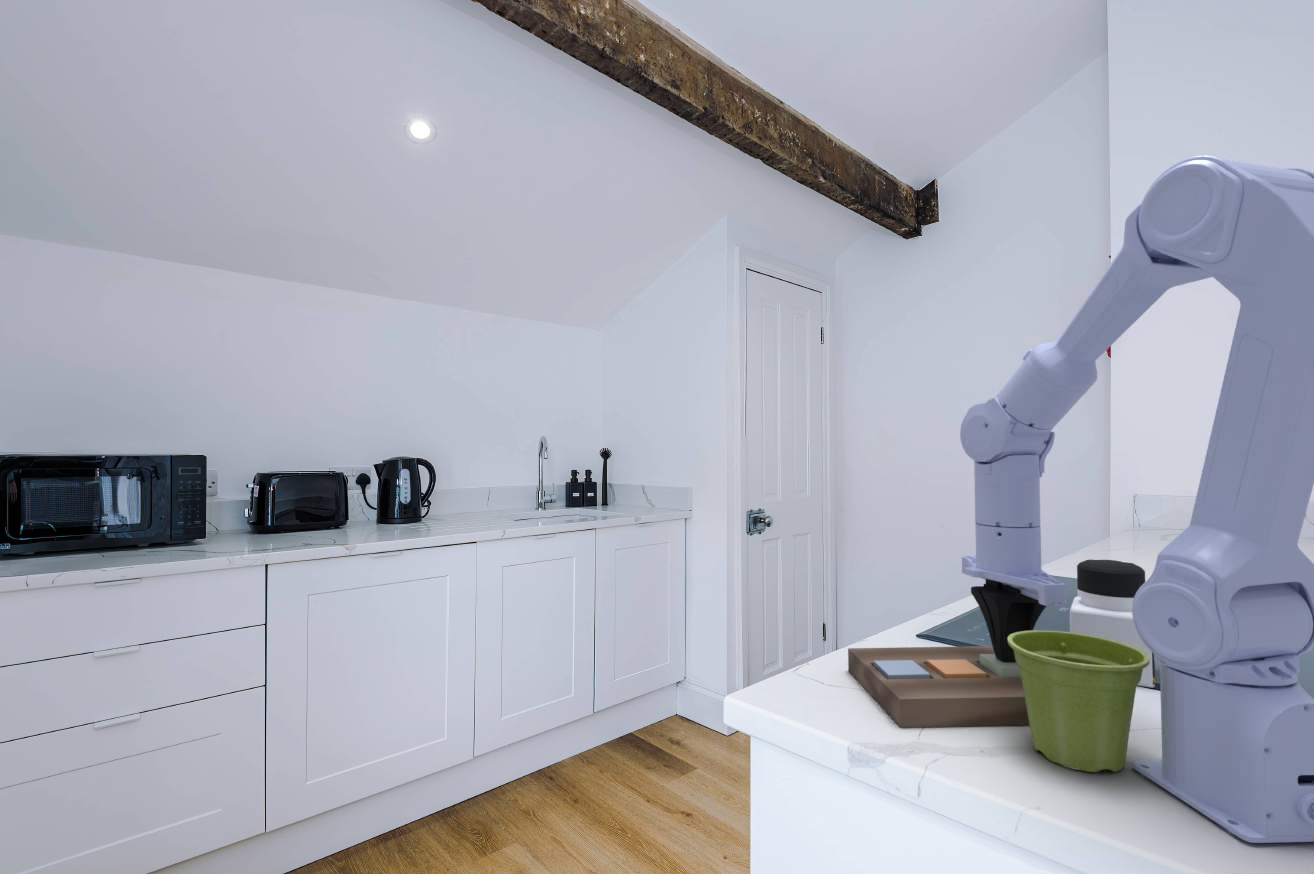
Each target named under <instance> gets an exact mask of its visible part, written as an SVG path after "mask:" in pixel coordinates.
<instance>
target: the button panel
mask: <svg viewBox="0 0 1314 874" xmlns="http://www.w3.org/2000/svg"><path fill="white" fill-rule="evenodd" d="M847 653H848V654H847V659H848V660H847V661H848V663H847V665H848V667H847V668H848V672H849V673H850V675H852V677H853V678H854V679H855V680H856V681H857V682H858V683H859V684H860V685H861V687H863V689H865V691H866V692H867V693H868V694H869V695H870V696H871V697H872V699H874V701H875V702H876V703H877V704H878V705H879V706H880V707H881V708H882V709H883V711H884V712H886V714H887V715H888V716H889V717H890V718H891V719H892V720H893V721H894V722H895V723H896V725H897V726H898V727H899V728H902V729H903V728H908V729H909V728H944V727H945V728H949V727H951V728H952V727H953V728H954V727H955V728H957V727H961V728H962V727H1000V726H1001V727H1003V726H1004V727H1005V726H1006V727H1007V726H1030V725H1029V719H1028V713H1027V707H1026V701H1025V696H1024V690H1023V684H1022V679H1021V677H999V676H998V675H996V674H995V673H993V672H992V671H990V670H988V669H987V668H985V667H984V666H982V665H981V664H980V655H979V654H995V653H994V649H993V646H992V645H975V646H973V645H972V646H971V645H970V646H969V645H968V646H914V647H913V646H912V647H911V646H910V647H907V646H905V647H859V648H858V647H853V648H852V647H851V648H850V647H849V648H847ZM955 659H965V660H967V661H968V662H970V663H972V664H973V665H975V666H976V667H978V668H979V669H981V670H982V671H984V672H985V673H986V675H987V678H943V677H942V676H940V675H939V674H938V673H936V672H935V671H934V670H932V669H931V668H930V667H929V666H927V660H955ZM895 660H913V661H914V662H915V663H916V664H918V665H919V666H920V667H921V668H923V669H924V670H925V671H927V672H928V673H929V674H930V679H886V678H885V677H884V676H883V675H882V674H881V673H880V672H879V671H878V670H877V669H876V668H875V667H874V661H895Z"/></svg>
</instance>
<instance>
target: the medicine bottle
mask: <svg viewBox="0 0 1314 874" xmlns="http://www.w3.org/2000/svg"><path fill="white" fill-rule="evenodd" d="M1076 578H1077V579H1076V580H1077V581H1076V582H1077V584H1076V585H1077V586H1076V587H1077V596H1075V597H1074V598H1073V601H1072V603H1071V606H1070V608H1069V632H1072V633H1079V634H1085V635H1091V636H1097V637H1101V638H1105V639H1110V640H1114V641H1117V642H1121V643H1124V644H1127V645H1130V646H1132V647H1135V648H1137V649H1139V650H1141V651H1143V652H1145V653H1146V654H1147V655H1148V656H1149V659H1150V661H1149V665H1148V666H1147V667H1145V668H1143V670H1142V676H1141V680H1140V682H1139V683H1138V684H1137V686H1139V687H1146V688H1150V689H1151V688H1152V689H1153V688H1155V686H1156V670H1155V669H1156V667H1155V666H1156V665H1155V664H1156V662H1154V653H1153V652H1152V651H1151V650H1150V649H1149V648H1148V647H1147V646H1146V645H1145V643H1144V642H1143V641H1142V639H1141V637H1140V636H1139V634H1138V632H1137V630H1136V627H1135V624H1134V621H1133V615H1132V604H1133V599H1134V597H1135V594H1136V592H1137V591H1138V589H1139V588H1140V587H1141V586H1142V585H1143V584H1144V583H1145V582H1146V570H1145V569H1144V568H1142V567H1141V566H1140V565H1137V564H1135V563H1134V562H1129V561H1123V560H1119V559H1118V560H1117V559H1107V558H1106V559H1104V558H1103V559H1102V558H1094V559H1093V558H1091V559H1085V560H1082V561H1080V562H1079V563H1078V564H1077V565H1076Z"/></svg>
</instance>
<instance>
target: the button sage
mask: <svg viewBox="0 0 1314 874" xmlns="http://www.w3.org/2000/svg"><path fill="white" fill-rule="evenodd" d="M979 655H980V664H981V665H982V666H984V667H985V668H987V669H988V670H990V671H992V672H993V673H995V674H996V675H998V676H999V677H1021V674H1020V668H1019V665H1018V664H1017V663H1004V662H1002V661H1000V660H998V659H997V658H996V656H995V654H979Z"/></svg>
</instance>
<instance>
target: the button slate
mask: <svg viewBox="0 0 1314 874" xmlns="http://www.w3.org/2000/svg"><path fill="white" fill-rule="evenodd" d="M874 667H875V668H876V669H877V670H878V671H879V672H880V673H881V674H882V675H883V676H884V677H885V678H886V679H930V674H929V673H928V672H927V671H925V670H924V669H923V668H921V667H920V666H919V665H918V664H916V663H915V662H914V661H913V660H895V661H874Z"/></svg>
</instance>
